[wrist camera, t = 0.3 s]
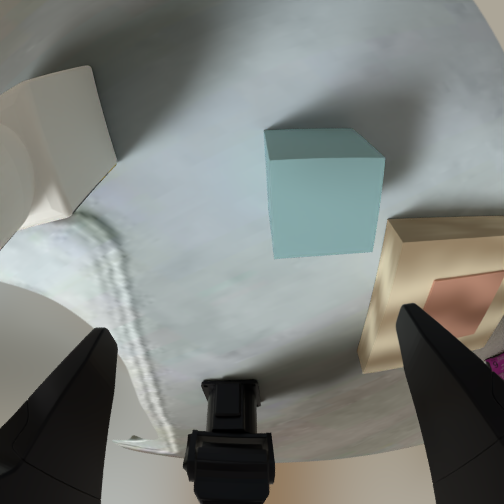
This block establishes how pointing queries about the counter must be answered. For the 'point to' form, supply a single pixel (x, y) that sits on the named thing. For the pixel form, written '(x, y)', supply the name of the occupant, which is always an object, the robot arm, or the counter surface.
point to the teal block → (322, 191)
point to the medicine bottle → (50, 148)
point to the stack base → (436, 282)
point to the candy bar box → (496, 364)
